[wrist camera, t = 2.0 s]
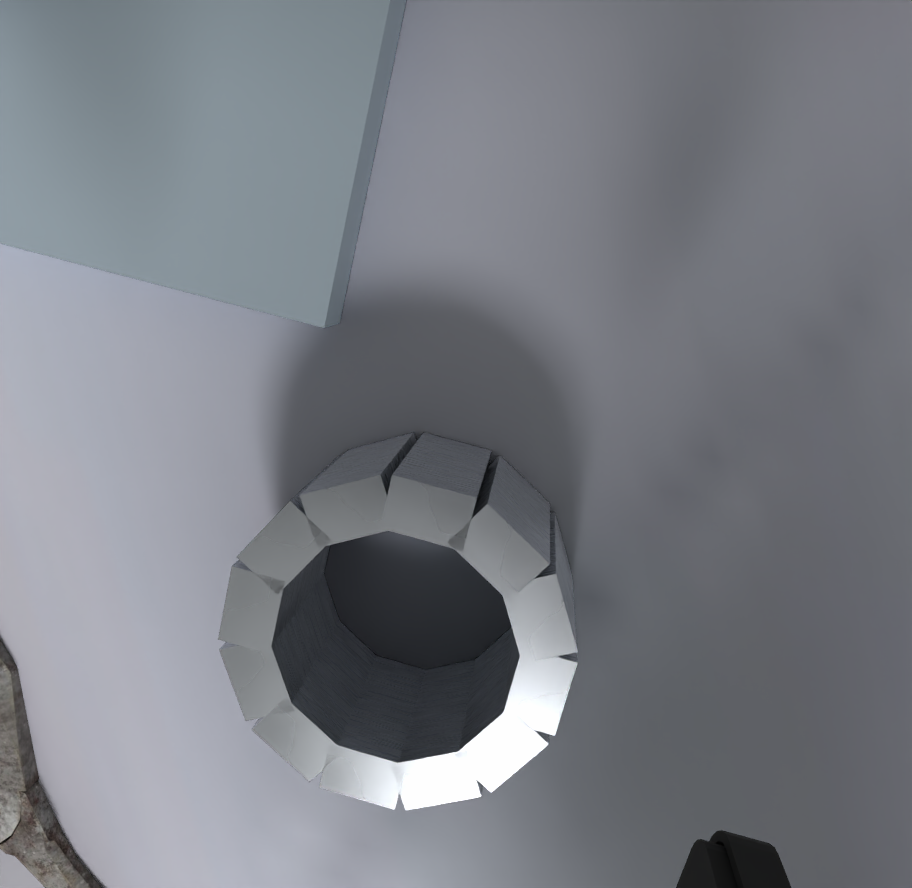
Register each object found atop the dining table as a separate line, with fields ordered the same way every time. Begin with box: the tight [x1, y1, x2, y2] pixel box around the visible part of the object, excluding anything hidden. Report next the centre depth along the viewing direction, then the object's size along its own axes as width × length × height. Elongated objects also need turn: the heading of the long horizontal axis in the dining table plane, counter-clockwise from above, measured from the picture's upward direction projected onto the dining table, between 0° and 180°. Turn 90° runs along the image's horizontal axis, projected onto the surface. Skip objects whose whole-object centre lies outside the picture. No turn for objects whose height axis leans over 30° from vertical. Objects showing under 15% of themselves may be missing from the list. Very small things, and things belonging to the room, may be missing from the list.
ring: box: [218, 432, 578, 810], centre depth 16 cm, size 6×6×4 cm
